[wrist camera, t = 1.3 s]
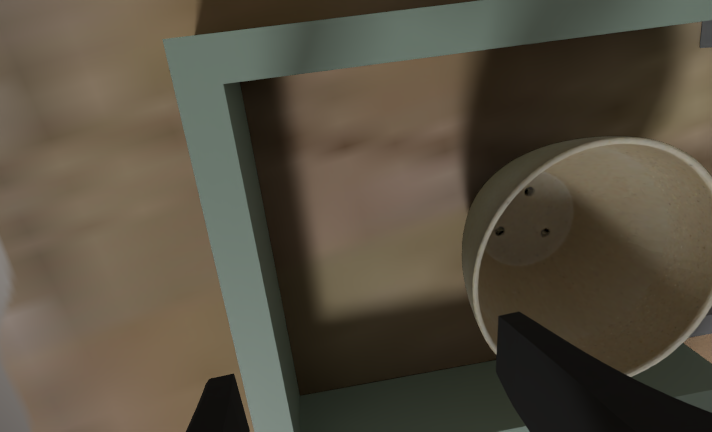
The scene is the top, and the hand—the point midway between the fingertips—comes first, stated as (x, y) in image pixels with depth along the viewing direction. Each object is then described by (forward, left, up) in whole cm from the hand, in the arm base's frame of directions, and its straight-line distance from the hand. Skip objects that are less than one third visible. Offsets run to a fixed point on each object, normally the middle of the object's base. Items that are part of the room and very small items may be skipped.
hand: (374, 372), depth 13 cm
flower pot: (-1, -9, -12) cm, 15 cm away
